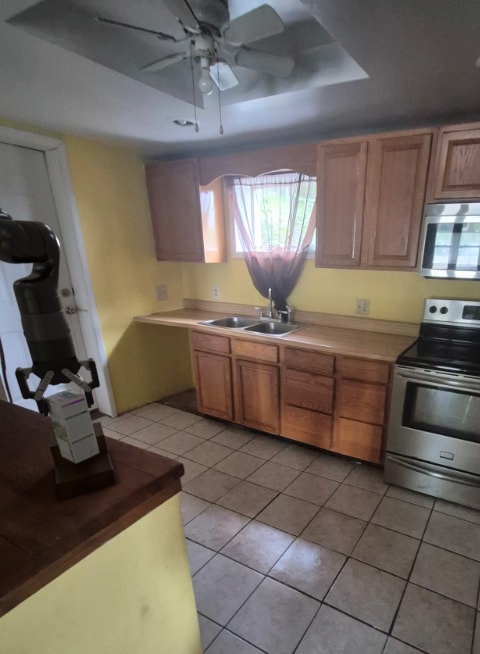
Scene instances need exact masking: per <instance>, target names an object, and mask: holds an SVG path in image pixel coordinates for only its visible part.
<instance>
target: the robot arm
mask: <svg viewBox="0 0 480 654" xmlns="http://www.w3.org/2000/svg"><path fill="white" fill-rule="evenodd" d="M0 262H3V263H6V264H9V265H10V264H11V265H23V264H25V265H26V264H32V267H31V272H30V274H28V275H26V276H24V277H21V278H18V279H16V280H14V282H13V283H12V289H13V294H14V297H15V301H16V305H17V308H18V311H19V315H20V322H21V327H22V328H21V329H22V334H23V336H24V338H25V343H26V345H27V349H28V352H29V355H30V359H31V362H32V365H31V366H30V367H29V366H28V367H21V366H19V367H16V368H15V371H14V376H15V379H16V382H17V385H18V388H19V391H20V393H21V394H20V395H21V397H22V399H23V400H25V401H26V400H34V402H35V403H36V404H35V405H36V407H37V410H38V413H39V414H40V415H43V416H44V417H45V418H46V417H50V416H49V412H48V409H47V406H46V402H45V396H44V394H45V392H46V391H47V389H48V387H49V386H53V387H54V386H58V385H61V384H63V385H64V384H65V385H67V384H71V383H72V382H73V383H74V384H75V385H76V386H78V387H80V388H81V389H82V390H83V393H84V395H85V397H86V401H87V405H88V409H92V406H94V405H95V400H94V394H93V390H94V389H97V388H100V386H101V383H100V378H99V374H98V373H99V372H98V368H97V364H96V361H95V358H93V357H89V358H88V359H84V360H83V359H82V360H79V358H78V357H77V353H76V349H75V344H74V340H73V336H72V330H71V327H70V323H69V319H68V317H67V315H66V312H65V309H64V305H63V299H62V296H61V292H60V268H61V267H60V266H61V245H60V241H59V238H58V236H57V234H56V233H55V231H54V230H53V229H52V228H51V227H50V226H49V225H48V224H46V223H45V222H43V221H39V220H21V219H19V220H18V219H14V218H13V216H11V214H9V212H7V211H6V210H5V209H3V208H1V207H0ZM82 367H84V368H85V370H86V371H90V372H89V373H90V377H91V381H89V382H88V381H87V380H85V378H83V377H82V376H81V375H80V374H79V371H80V370H81V368H82ZM31 374H33V375H34V376H36V377H37V378H38V379H40V380H39V383H38V385H37V387H36V389H35V390H30V387H29V384H28V380H29V379H30V375H31Z"/></svg>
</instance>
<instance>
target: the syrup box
mask: <svg viewBox="0 0 480 654" xmlns="http://www.w3.org/2000/svg"><path fill="white" fill-rule="evenodd" d="M44 398H45V402H46V406H47V409H48V413H49V416H48V417H49V419H50V422H51V426H52V429H53V432H54V433H55V436H56V440H57V443H58V446H59V450H60V453H61V456H62V457H63V458H65V459H68V460H69V461H71V462H73V463H79V462H81V461H83V460H85V459H88V458H90V457H92V456H94V455H96V454H98V453H99V449H98V445H97V441H96V437H95V433H94V429H93V425H92V423H93V421H92V417H91V414H90V413H91V412H90V408H88V405H87V401H86V397H85V393H84V394H83V393H80V392H78V391H75V390H73V389H67V390H63V391H60V392H56V393H54V394H51V395H48V396H46V397H45V396H44Z"/></svg>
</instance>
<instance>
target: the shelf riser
mask: <svg viewBox="0 0 480 654" xmlns="http://www.w3.org/2000/svg"><path fill="white" fill-rule="evenodd" d="M92 425H93V429H94V433H95V437H96V441H97V445H98V449H99V453H98V454H96V455H94V456H92V457H90V458H88V459H85V460H83V461H81V462H79V463H73V462H71V461H69V460H68V459H65V458H63V457H62V456H61V453H60V450H59V446H58V443H57V440H56V436H55V433H54V431H49V451H50V453H51V456H52V461H53V464H54V473H55V487H56V490H57V493H58V496H59V499H60V500H64V499H67V498H70V497H73V496H77V495H82V494H84V493H87V492H91V491H94V490H98V489H102V488H105V487H109V486H112V485H115V484H117V482H116V477H115V473H114V472H115V471H114V469H113V465H112V461H111V458H110V454H109V450H108V446H107V441H106V438H105V433H104V429H103V426H102V422H101V421H97V422H92Z"/></svg>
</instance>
